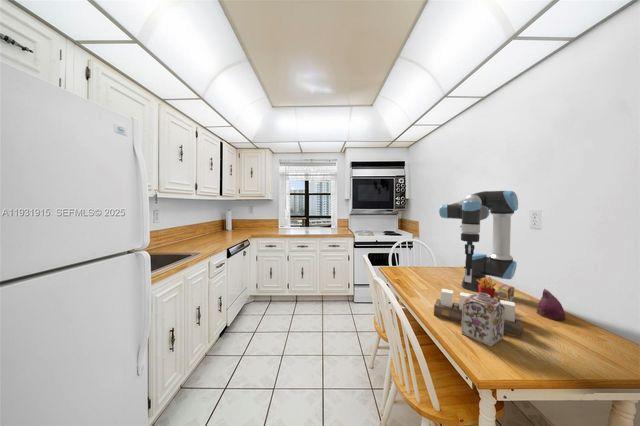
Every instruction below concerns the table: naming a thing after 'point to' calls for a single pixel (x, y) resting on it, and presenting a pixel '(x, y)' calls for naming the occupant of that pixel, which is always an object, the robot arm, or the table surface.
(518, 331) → the wooden candle holder
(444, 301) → the white rectangular block
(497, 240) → the robot arm
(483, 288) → the french fries
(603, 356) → the table surface
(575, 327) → the table surface
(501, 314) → the decorative jar
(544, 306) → the vegetable
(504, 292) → the candy box
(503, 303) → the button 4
